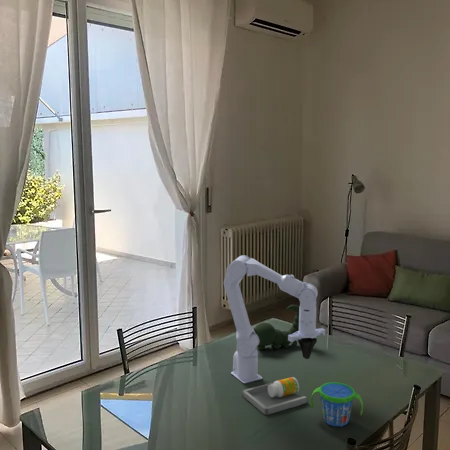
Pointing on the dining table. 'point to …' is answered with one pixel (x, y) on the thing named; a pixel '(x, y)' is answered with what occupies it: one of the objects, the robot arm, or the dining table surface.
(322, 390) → the snack cup
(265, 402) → the tray
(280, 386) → the supplement bottle
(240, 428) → the dining table surface
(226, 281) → the robot arm
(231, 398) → the dining table surface
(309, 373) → the dining table surface
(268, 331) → the toy figurine
